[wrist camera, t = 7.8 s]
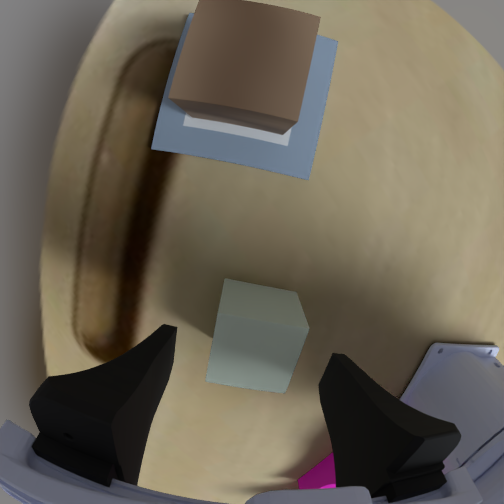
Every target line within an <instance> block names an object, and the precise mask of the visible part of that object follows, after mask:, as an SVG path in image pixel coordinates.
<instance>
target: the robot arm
mask: <svg viewBox="0 0 504 504" xmlns="http://www.w3.org/2000/svg"><path fill="white" fill-rule="evenodd" d="M176 333H177V327H174V326H170V325H166V324H163V325H162V326H160V327H159V328H158V329H157V330H156V331H155V332H153V333H152V334H151V335H150V336H149V337H147V338H146V339H145V340H143V341H142V342H141V343H139V344H138V345H137V346H135V347H134V348H132V349H131V350H129V351H127V352H126V353H124V354H123V355H121V356H119V357H117V358H115V359H113V360H111V361H109V362H107V363H104V364H102V365H99V366H96V367H94V368H91V369H88V370H84V371H80V372H76V373H71V374H65V375H58V376H49V377H48V378H47V379H46V380H45V381H44V382H43V383H42V384H41V386H40V387H39V388H38V390H37V391H36V392H35V394H34V395H33V397H32V398H31V399H30V403H29V406H30V410H31V413H32V416H33V418H34V420H35V422H36V425H37V427H38V429H39V431H40V433H39V435H38V436H37V438H35V437H34V436H33V435H32V434H31V433H30V432H28V431H27V430H25V429H23V428H21V427H20V426H18V425H16V424H15V423H13V422H12V421H10V420H6V421H5V423H4V424H3V426H2V427H1V428H0V487H1V488H2V489H3V490H4V491H5V492H6V493H7V494H9V495H10V496H12V497H14V498H15V499H16V500H18V501H19V502H21V503H23V504H227V503H219V502H211V501H204V500H197V499H191V498H186V497H181V496H176V495H171V494H166V493H162V492H158V491H154V490H150V489H146V488H142V487H139V486H137V483H138V478H139V473H140V468H141V464H142V459H143V455H144V450H145V446H146V442H147V438H148V434H149V431H150V427H151V423H152V420H153V417H154V415H155V412H156V410H157V407H158V405H159V403H160V400H161V398H162V395H163V393H164V390H165V388H166V386H167V383H168V381H169V377H170V374H171V370H172V366H173V362H174V352H175V343H176ZM439 349H440V350H439ZM498 351H499V347H498V346H497V345H469V344H449V343H434V344H432V345H431V346H430V348H429V350H428V352H427V354H426V355H425V357H424V359H423V361H422V363H421V365H420V366H419V368H418V370H417V372H416V373H415V375H414V377H413V379H412V380H411V382H410V384H409V385H408V387H407V389H406V390H405V392H404V393H403V395H402V397H401V398H400V400H399V399H397V398H396V397H394V396H393V395H391V394H390V393H389V392H387V391H386V390H385V389H383V388H382V387H381V386H380V385H378V384H377V383H376V382H375V381H374V380H373V379H371V378H370V377H369V376H368V375H367V374H366V373H365V372H364V371H363V370H362V369H360V368H359V367H358V366H357V365H356V364H355V363H354V362H353V361H352V360H351V359H349V358H348V357H347V356H346V355H344V354H336V353H333V354H332V356H331V358H330V361H329V363H328V365H327V367H326V370H325V372H324V374H323V376H322V378H321V380H320V383H319V395H320V402H321V406H322V410H323V413H324V417H325V421H326V424H327V428H328V431H329V435H330V438H331V443H332V449H333V456H334V465H335V478H336V488H324V489H296V490H274V491H267V492H264V493H260V494H256V495H255V496H253V497H252V498H250V499H249V500H247V501H246V503H245V504H504V366H503V365H502V364H501V363H500V362H499V361H498V360H497V359H496V358H495V357H496V355H497V353H498Z"/></svg>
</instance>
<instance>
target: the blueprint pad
mask: <svg viewBox="0 0 504 504" xmlns="http://www.w3.org/2000/svg"><path fill="white" fill-rule="evenodd" d="M193 16H194V13H189V15H188V18H187V21H186V24H185V26H184V29H183V32H182V35H181V38H180V41H179V44H178V47H177V50H176V53H175V57H174V60H173V63H172V67H171V70H170V73H169V77H168V80H167V84H166V88H165V92H164V95H163V99H162V103H161V107H160V111H159V115H158V120H157V124H156V129H155V133H154V138H153V143H152V147H151V149H154V150H161V151H168V152H174V153H181V154H187V155H193V156H198V157H204V158H210V159H215V160H220V161H225V162H230V163H235V164H240V165H245V166H250V167H254V168H259V169H263V170H268V171H272V172H276V173H281V174H285V175H289V176H293V177H297V178H301V179H305V180H309V176H310V172H311V168H312V164H313V159H314V155H315V151H316V146H317V142H318V137H319V133H320V128H321V124H322V119H323V115H324V110H325V105H326V100H327V96H328V91H329V86H330V81H331V76H332V71H333V66H334V60H335V55H336V50H337V45H338V41H336V40H332V39H329V38H326V37H323V36H319V35H317V37H316V42H315V46H314V51H313V56H312V60H311V65H310V70H309V74H308V79H307V83H306V88H305V92H304V97H303V102H302V106H301V110H300V115H299V119H298V122H297V123H296V124H295V125H294V126H292V127H291V128H290V129H289V130H288V131H287V132H286V133H285V134H284V135H280V134H276V133H272V132H267V131H263V130H258V129H253V128H249V127H244V126H239V125H234V124H228V123H223V122H217V121H211V120H205V119H199V118H192V117H191V116H190V115H188V114H187V113H186V112H185V111H184V110H182V109H181V108H180V107H179V106H178V105H176V104H175V103H174V102H173V101H171V100H170V99H169V98H168V97H169V93H170V89H171V85H172V82H173V78H174V74H175V71H176V68H177V64H178V61H179V58H180V54H181V51H182V48H183V45H184V42H185V39H186V36H187V33H188V30H189V27H190V24H191V21H192V18H193Z"/></svg>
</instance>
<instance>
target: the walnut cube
mask: <svg viewBox="0 0 504 504" xmlns="http://www.w3.org/2000/svg"><path fill="white" fill-rule="evenodd" d="M320 18H321V17H319V16H315V15H312V14H308V13H304V12H300V11H296V10H292V9H288V8H283V7H278V6H273V5H268V4H263V3H257V2H251V1H244V0H199V2H198V5H197V8H196V10H195V13H194V16H193V18H192V21H191V24H190V27H189V30H188V33H187V36H186V39H185V42H184V45H183V48H182V51H181V54H180V58H179V61H178V64H177V68H176V71H175V74H174V78H173V82H172V85H171V89H170V93H169V97H168V98H169V99H170V100H171V101H173V102H174V103H175V104H176V105H178V106H179V107H180V108H181V109H182V110H184V111H185V112H186V113H187V114H188V115H190V116H191V117H192V118H199V119H205V120H211V121H217V122H223V123H228V124H234V125H239V126H244V127H249V128H253V129H258V130H263V131H267V132H272V133H276V134H280V135H284V134H285V133H286V132H287V131H288V130H289V129H290V128H291V127H292V126H294V125H295V124H296V123H297V122H298V119H299V115H300V110H301V106H302V102H303V97H304V92H305V88H306V83H307V79H308V74H309V70H310V65H311V60H312V56H313V51H314V46H315V42H316V37H317V32H318V27H319V23H320Z"/></svg>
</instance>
